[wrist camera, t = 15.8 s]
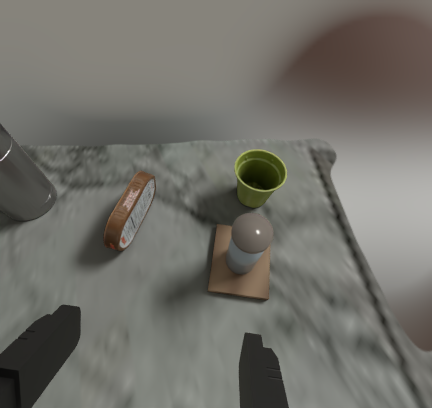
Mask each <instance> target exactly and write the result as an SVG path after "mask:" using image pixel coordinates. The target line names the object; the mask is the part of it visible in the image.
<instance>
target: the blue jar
mask: <svg viewBox="0 0 432 408" xmlns="http://www.w3.org/2000/svg"><path fill="white" fill-rule="evenodd" d="M273 236H274V232H273V228H272V225H271V224H270V222H269V221H268V220H267V219H266V218H265V217H263V216H262V215H259V214H256V213H246V214H243V215H241V216H239V217H238V218H237V219H236V220H235V221H234V223H233V226H232V230H231V239H230V243H229V246H228V250H227V254H226V264H227V266H228V268H229V269H230V270H231V271H232V272H234V273H236V274H247V273H249V272H250V271H251V270H252V269H253V268H254V266H255V265H256V263H257V261H258V260H259V258H260V257H261V255H262V253H263V252H264V251H265V250H266V249H267V248H268V247H269V245H270V244H271V242H272V240H273Z"/></svg>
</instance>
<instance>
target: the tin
mask: <svg viewBox="0 0 432 408" xmlns="http://www.w3.org/2000/svg"><path fill="white" fill-rule="evenodd" d="M155 190H156V184H155V176H153V175H151V174H148V173H145V172H144V171H139V172H137V173H136V174H135V175H134V177H133V178H132V180H131V181H130V183H129V185H128V187H127V188H126V190H125V192H124V193H123V195H122V197H121V198H120V200H119V202H118V203H117V205H116V207H115V208H114V210H113V212H112V213H111V215H110V217H109V219H108V222H107V224H106V227H105V231H104V237H103V241H104V245H105V247H107V248H112V249H115V250H118V251H123V250H125V249H126V248H127V247H128V246H129V245H130V243H131V242H132V240H133V239H134V237H135V235H136V233H137V231H138V229H139V227H140V225H141V223H142V221H143V220H144V218H145V216H146V214H147V212H148V210H149V208H150V206H151V203H152V201H153V198H154V195H155Z"/></svg>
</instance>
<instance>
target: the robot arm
mask: <svg viewBox="0 0 432 408" xmlns="http://www.w3.org/2000/svg"><path fill="white" fill-rule="evenodd" d="M56 196H57V193H56V189H55V187H54V186H53V185H52V183H51V182H50V181H49V180H48V179H47V177H46V176H45V175H44V174H43V173H42V171H41V170H40V169H39V168H38V167H37V166H36V164H35V163H34V162H33V161H32V160H31V158H30V157H29V156H28V155H27V154H26V153H25V151H24V150H23V149H22V148H21V147H20V146H19V144H18V143H17V142H16V141H15V140H14V139H13V137H11V135H10V134H9V133H8V132H7V131H6V129H5V128H4V127H3V126H2V125H1V124H0V211H2V212H3V213H5V214H6V215H7V216H9V217H10V218H12V219H14V220H18V221H28V220H32V219H35V218H38V217H40V216H42V215H43V214H45V213H46V212H47V211H48V210H49V209H50V208H51V207H52V206H53V204H54V203H55V200H56ZM80 320H81V311H80V307H77V306H70V305H61V306H60V307H59V308H58V309H57V310H56V311H55V312H54V313H53V314H52V315H50V314H47V315H45V316H43V317H42V318H40V319H38V320H36V321H35V322H34V323H33V324H32V325H31V326H30V327H28V328H27V329H26V331H25V332H23V333H22V334H21V335H20V336H19V337H18V339H16V340H15V341H14V342H13V343H12V344H10V345H9V346H8V347H7V348H6V349H5V350H4V351H3V352H2V353H1V354H0V408H32V406H33V405H34V403H35V402H36V401H37V399H38V398H39V397H40V395H41V394H42V393H43V391H44V390H45V388H46V387H47V386H48V384H49V383H50V382H51V380H52V379H53V378H54V376H55V375H56V373H57V372H58V371H59V369H60V368H61V367H62V365H63V364H64V363H65V361H66V360H67V358H68V357H69V356H70V354H71V353H72V352H73V350H74V349H75V347H76V346H77V344H78V341H79V338H80ZM239 391H240V408H289V407H288V402H287V397H286V393H285V388H284V384H283V381H282V375H281V371H280V366H279V361H278V358H277V356H276V355H275V353H274V352H273V350H272V349H271V348H264V347H263V343H262V337H261V335H259V334H252V333H245V335H244V340H243V345H242V350H241V355H240V361H239Z"/></svg>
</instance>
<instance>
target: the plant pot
mask: <svg viewBox="0 0 432 408" xmlns="http://www.w3.org/2000/svg"><path fill="white" fill-rule="evenodd" d="M234 171H235V174H236V177H237V196H238V199H239V201H240V202H241V203H242V204H243V205H245V206H249V207H252V208H256V207H260V206H262V205H263V204H264V203H265V202H266V200H267V199H268V198H269V197H270V195H271V194H272V193H273V192H274V191H275V190H277V189H279V188H280V187H281V186H282V185H283V184H284V183H285V181H286V178H287V169H286V166H285V164H284V163H283V162H282V160H281V159H280V158H279V157H277V156H276V155H274V154H273V153H271V152H268V151H265V150H259V149H255V150H249V151H246V152H244V153H242V154H241V155H240V156H239V157H238V158H237V160H236V162H235V166H234ZM259 188H260V189H261V190H259Z"/></svg>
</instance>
